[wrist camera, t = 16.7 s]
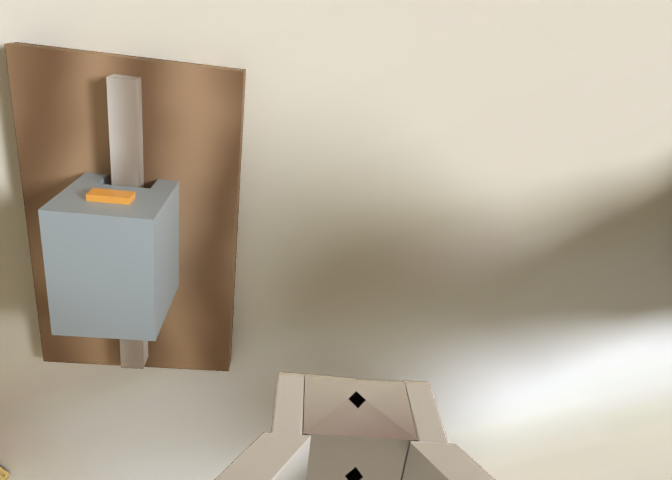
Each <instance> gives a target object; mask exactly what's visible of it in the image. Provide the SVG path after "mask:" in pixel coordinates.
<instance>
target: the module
mask: <svg viewBox="0 0 672 480" xmlns="http://www.w3.org/2000/svg"><path fill="white" fill-rule="evenodd" d="M38 214H39V223H40V233H41V242H42V251H43V260H44V269H45V278H46V287H47V296H48V305H49V314H50V323H51V332H52V335H61V336H78V337H94V338H110V339H127V340H143V341H156V339H157V336H158V334H159V331H160V329H161V327H162V324H163V322H164V320H165V317H166V315H167V312H168V310H169V308H170V305H171V303H172V300H173V298H174V296H175V293H176V291H177V289H178V286H179V181H173V180H162V179H158V180H157V181H156V182H155V183H154V185H153V186H152V187H151V188H139V187H128V186H118V185H109V182H108V174H100V173H90V172H86V173H84V174H83V175H82V176H80V177H79V178H78V179H77V180H75V181H74V182H73V183H72V184H70V185H69V186H68V187H66V188H65V189H64V190H63V191H61V192H60V193H59V194H58V195H56V196H55V197H54V198H52V199H51V200H50V201H49V202H47V203H46V204H45V205H44V206H42V207H41V208H40V209H38Z"/></svg>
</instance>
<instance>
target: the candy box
mask: <svg viewBox="0 0 672 480" xmlns="http://www.w3.org/2000/svg"><path fill="white" fill-rule="evenodd" d="M8 477H9V473H8V472H7V471H6V470H4V469H3V468H1V467H0V480H7V478H8Z"/></svg>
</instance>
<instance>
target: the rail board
mask: <svg viewBox="0 0 672 480" xmlns="http://www.w3.org/2000/svg"><path fill="white" fill-rule="evenodd" d="M5 51H6V59H7V67H8V75H9V83H10V91H11V99H12V108H13V116H14V124H15V132H16V140H17V148H18V156H19V164H20V172H21V181H22V189H23V197H24V205H25V213H26V221H27V229H28V237H29V245H30V253H31V262H32V270H33V278H34V286H35V294H36V302H37V310H38V318H39V326H40V335H41V343H42V351H43V359H44V361H47V362H66V363H85V364H103V365H121V368H140V369H143V368H144V367H159V368H178V369H197V370H216V371H229V367H230V361H231V347H232V327H233V308H234V288H235V269H236V249H237V230H238V211H239V191H240V172H241V152H242V133H243V113H244V94H245V74H246V70H245V69H237V68H228V67H220V66H212V65H203V64H195V63H186V62H178V61H170V60H161V59H153V58H145V57H136V56H128V55H120V54H111V53H103V52H95V51H86V50H78V49H69V48H61V47H53V46H44V45H36V44H28V43H19V42H15V43H7V44H5ZM86 172H90V173H100V174H108V182H109V185H118V186H128V187H139V188H151V187H152V186H153V185H154V183H155V182H156V181H157V180H158V179H162V180H173V181H179V286H178V289H177V291H176V293H175V296H174V298H173V300H172V303H171V305H170V308H169V310H168V312H167V315H166V317H165V320H164V322H163V324H162V327H161V329H160V331H159V334H158V336H157V339H156V341H143V340H127V339H110V338H94V337H78V336H61V335H52V332H51V323H50V314H49V305H48V296H47V287H46V278H45V269H44V260H43V251H42V242H41V233H40V223H39V214H38V209H40V208H41V207H42V206H44V205H45V204H46V203H47V202H49V201H50V200H51V199H52V198H54V197H55V196H56V195H58V194H59V193H60V192H61V191H63V190H64V189H65V188H66V187H68V186H69V185H70V184H72V183H73V182H74V181H75V180H77V179H78V178H79V177H80V176H82V175H83V174H84V173H86Z"/></svg>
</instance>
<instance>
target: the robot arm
mask: <svg viewBox="0 0 672 480" xmlns="http://www.w3.org/2000/svg"><path fill="white" fill-rule="evenodd" d="M215 480H495V479H494V478H493V477H492V476H491V475H490V474H489V473H488V472H486V471H485V470H484V469H483V468H482V467H481V466H480V465H479V464H478V463H476V462H475V461H474V460H473V459H472V458H471V457H470V456H469V455H468V454H466V453H465V452H464V451H463V450H462V449H461V448H460V447H459V446H458V445H456V444H450V443H448V441H447V437H446V434H445V431H444V427H443V424H442V421H441V418H440V414H439V411H438V408H437V404H436V401H435V398H434V394H433V391H432V388H431V385H430V384H429V383H428V382H421V381H403V382H402V381H388V380H372V379H355V378H347V377H335V376H324V375H313V374H305V375H304V374H299V373H287V372H279V373H278V376H277V384H276V393H275V402H274V411H273V420H272V429H271V433H262V434H261V435H260V436H259V437H258V438H257V439H256V440H255V441H254V442H253V443H252V444H251V445H250V446H249V447H248V448H247V449H246V450H245V451H244V452H243V453H242V454H241V455H240V456H239V457H238V458H237V459H236V460H235V461H233V462H232V463H231V464H230V465H229V466H228V467H227V468H226V469H225V470H224V471H223V472H222V473H221V474H220V475H219V476H218V477H217V478H216V479H215Z"/></svg>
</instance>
